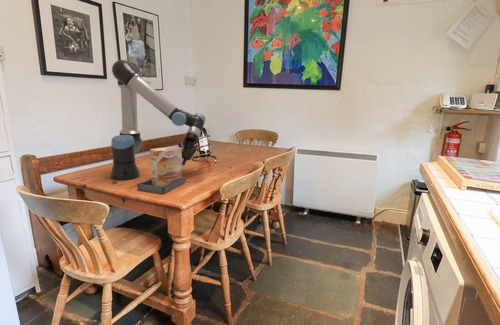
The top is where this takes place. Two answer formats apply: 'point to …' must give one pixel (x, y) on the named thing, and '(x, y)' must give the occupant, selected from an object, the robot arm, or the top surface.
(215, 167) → the top surface
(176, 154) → the coffeecake box
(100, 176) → the top surface
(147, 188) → the dock
